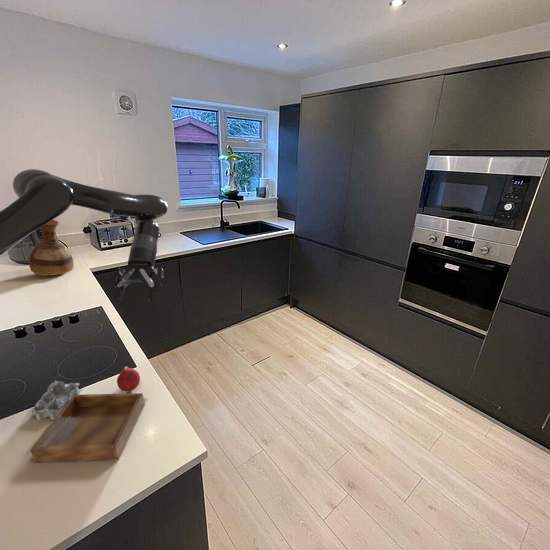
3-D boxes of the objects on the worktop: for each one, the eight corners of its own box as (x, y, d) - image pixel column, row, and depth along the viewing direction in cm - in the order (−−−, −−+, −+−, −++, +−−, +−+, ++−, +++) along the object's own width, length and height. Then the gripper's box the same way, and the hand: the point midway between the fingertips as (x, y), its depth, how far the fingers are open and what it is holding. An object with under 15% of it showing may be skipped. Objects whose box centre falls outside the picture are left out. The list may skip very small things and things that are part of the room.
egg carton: (59, 389, 82) (55, 378, 80) (85, 390, 82) (82, 378, 80) (29, 421, 72) (24, 408, 70) (59, 421, 72) (55, 409, 70)
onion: (146, 388, 83) (141, 366, 80) (126, 401, 78) (121, 377, 76) (134, 380, 86) (130, 358, 83) (115, 391, 82) (110, 369, 79)
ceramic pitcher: (59, 280, 154) (44, 224, 143) (22, 279, 154) (4, 223, 143) (83, 267, 172) (71, 217, 161) (50, 266, 172) (35, 216, 161)
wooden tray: (35, 463, 62) (29, 450, 61) (77, 405, 77) (73, 394, 75) (118, 460, 63) (115, 447, 62) (144, 404, 78) (142, 393, 76)
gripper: (115, 245, 87) (103, 296, 81) (162, 246, 88) (155, 296, 81) (125, 257, 94) (115, 304, 87) (169, 257, 95) (163, 304, 88)
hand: (134, 300), depth 84 cm, fingers open, 8 cm apart
